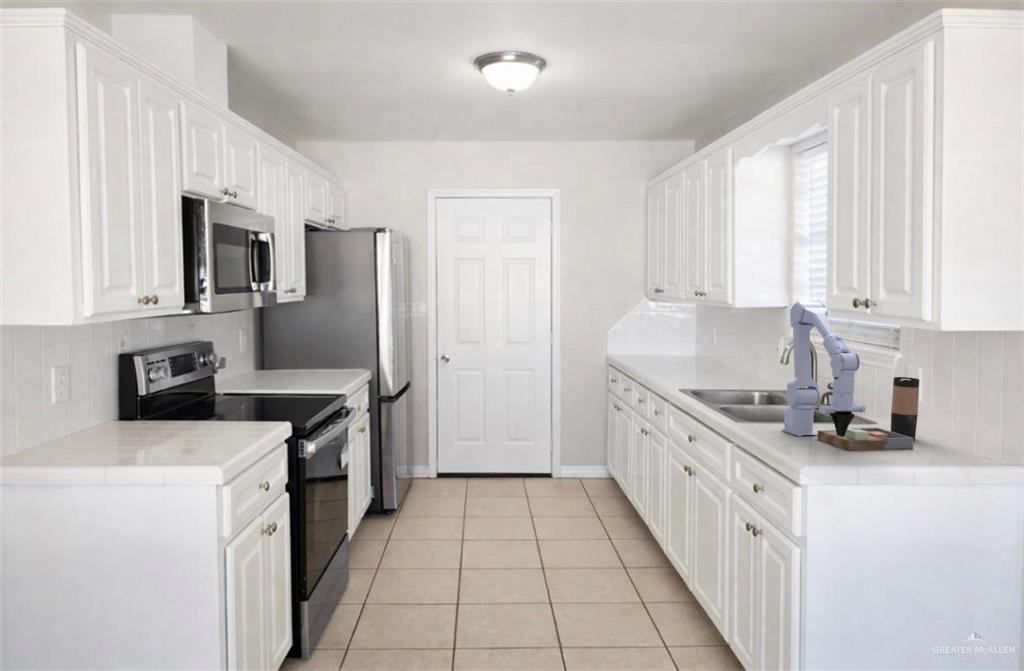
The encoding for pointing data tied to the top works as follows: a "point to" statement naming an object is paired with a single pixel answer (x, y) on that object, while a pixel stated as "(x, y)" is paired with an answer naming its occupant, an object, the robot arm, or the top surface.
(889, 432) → the box
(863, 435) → the tile sage
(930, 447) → the top surface
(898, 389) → the travel mug
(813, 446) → the top surface
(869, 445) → the board
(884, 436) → the tile terracotta
